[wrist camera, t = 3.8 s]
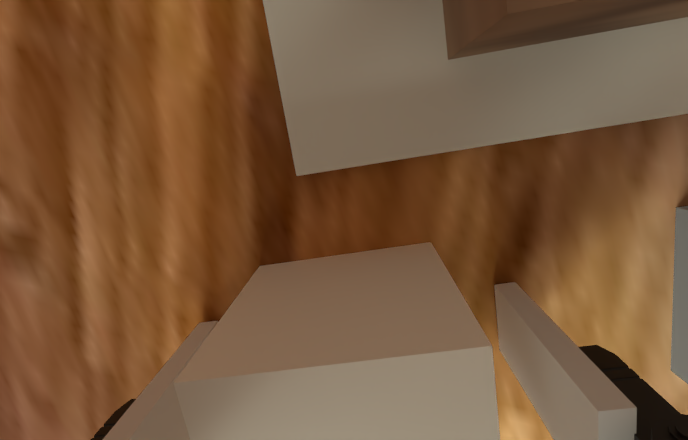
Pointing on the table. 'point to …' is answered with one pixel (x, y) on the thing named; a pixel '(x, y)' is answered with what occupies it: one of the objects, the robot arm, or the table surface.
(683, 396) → the table surface
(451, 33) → the base brick
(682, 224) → the brick
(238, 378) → the brick
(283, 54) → the plate
